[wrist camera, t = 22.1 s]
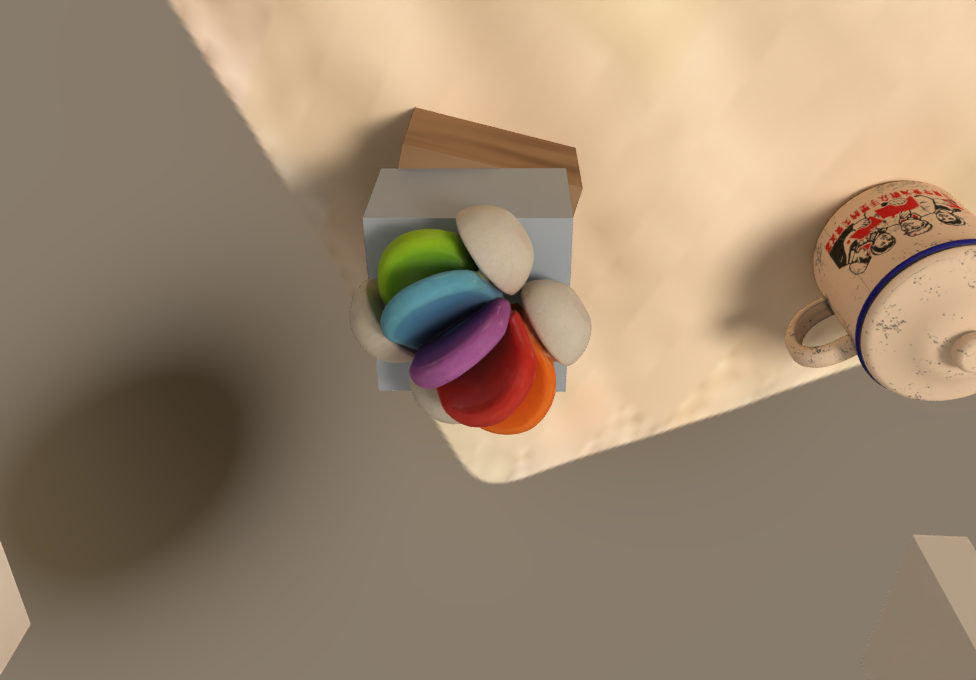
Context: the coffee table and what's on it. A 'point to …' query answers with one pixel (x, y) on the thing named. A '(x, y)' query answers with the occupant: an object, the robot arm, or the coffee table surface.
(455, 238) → the rainbow petal toy
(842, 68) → the coffee table surface
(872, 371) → the teacup with lid
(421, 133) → the walnut brick
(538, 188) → the gray brick
